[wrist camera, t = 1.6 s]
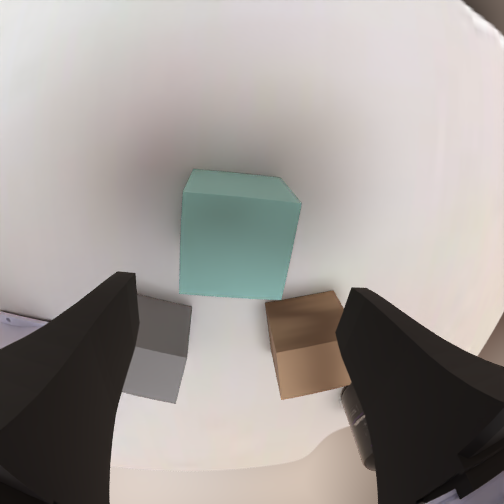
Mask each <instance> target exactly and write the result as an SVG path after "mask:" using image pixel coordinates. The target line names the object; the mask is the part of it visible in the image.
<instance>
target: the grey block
mask: <svg viewBox="0 0 504 504" xmlns="http://www.w3.org/2000/svg"><path fill="white" fill-rule="evenodd" d="M137 300H138V311H139V320H140V325H139V330H138V336H137V341H136V346H135V350H134V353H133V357H132V360H131V363H130V366H129V370H128V373H127V376H126V379H125V383H124V386H123V389H122V392H124V393H128V394H132V395H136V396H140V397H145V398H149V399H154V400H159V401H164V402H169V403H174V404H176V400H177V396H178V392H179V388H180V384H181V380H182V376H183V372H184V368H185V364H186V360H187V353H188V342H189V332H190V322H191V312H192V307H191V306H186V305H182V304H177V303H173V302H168V301H164V300H160V299H156V298H152V297H147V296H143V295H139V294H137Z"/></svg>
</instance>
